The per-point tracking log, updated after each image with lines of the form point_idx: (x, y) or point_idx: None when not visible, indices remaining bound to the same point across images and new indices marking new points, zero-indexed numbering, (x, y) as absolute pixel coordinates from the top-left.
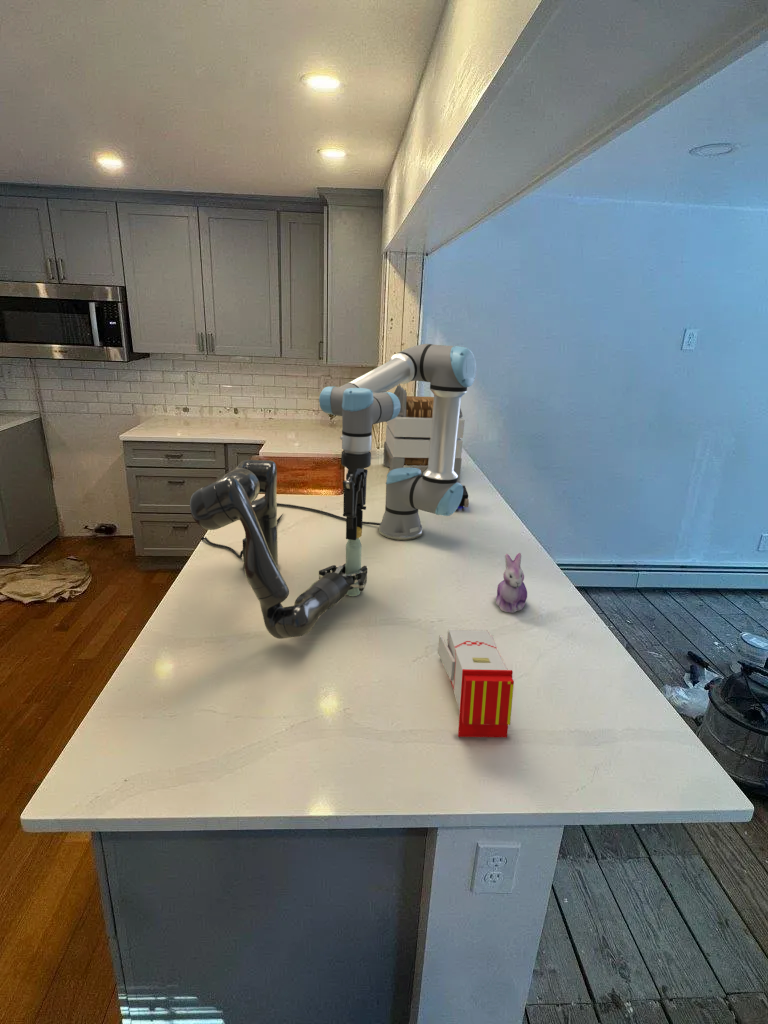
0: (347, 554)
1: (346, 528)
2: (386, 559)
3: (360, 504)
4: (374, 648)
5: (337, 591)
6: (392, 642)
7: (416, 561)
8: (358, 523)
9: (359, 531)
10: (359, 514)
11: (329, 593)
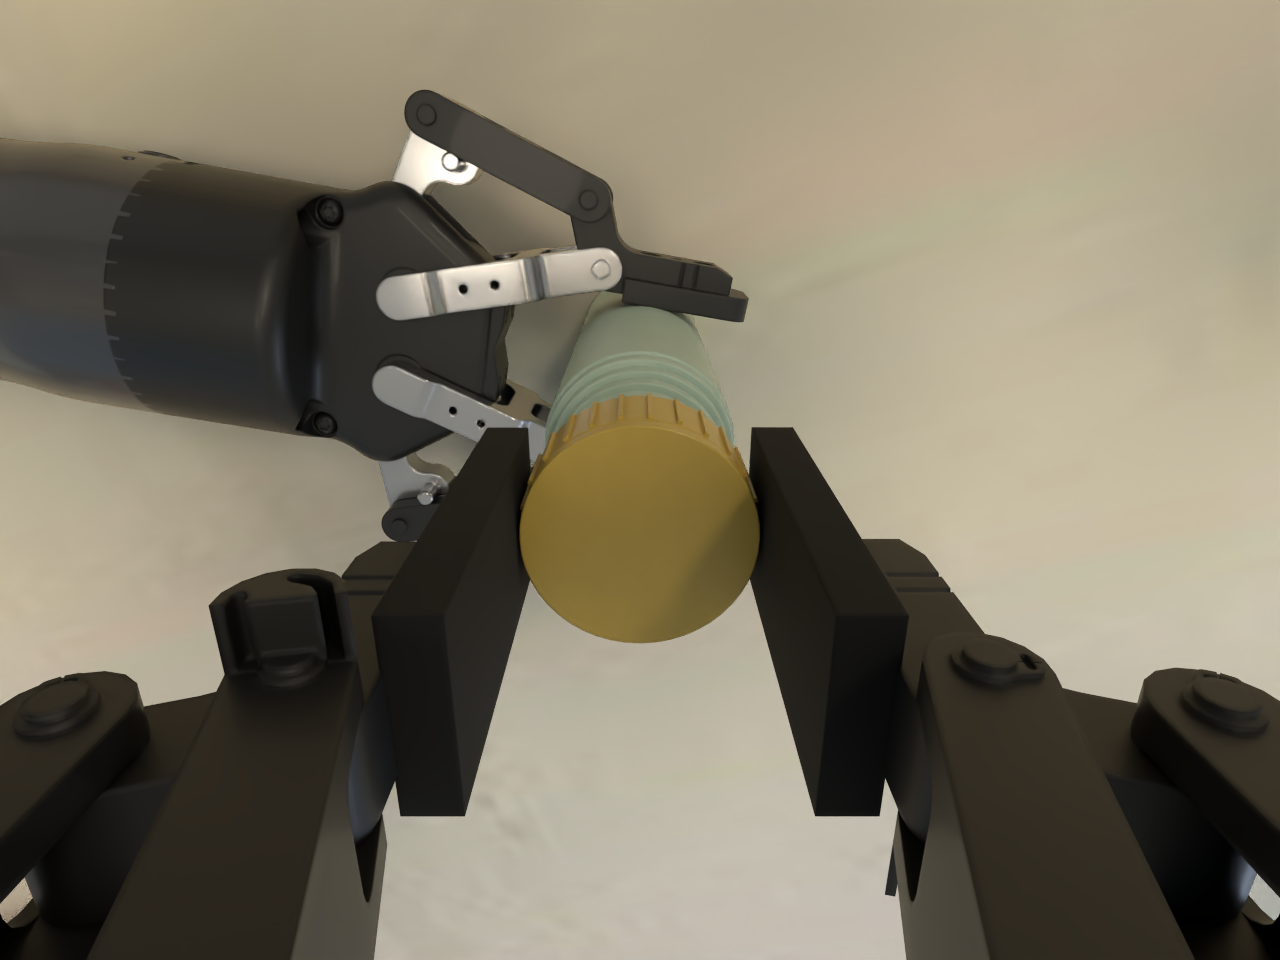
0: (565, 375)
1: (451, 493)
2: (1239, 406)
3: (912, 906)
4: (113, 622)
5: (136, 409)
6: (211, 683)
7: (1223, 603)
8: (770, 596)
9: (584, 630)
10: (804, 714)
11: (14, 381)
